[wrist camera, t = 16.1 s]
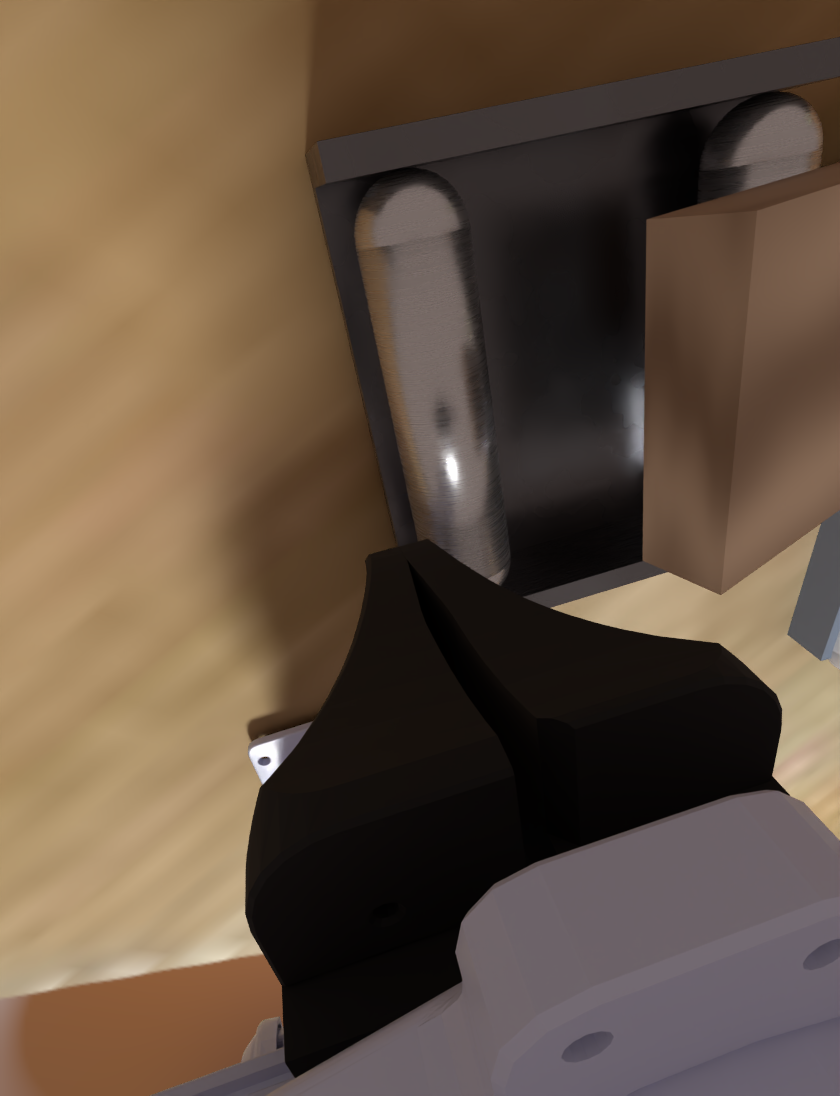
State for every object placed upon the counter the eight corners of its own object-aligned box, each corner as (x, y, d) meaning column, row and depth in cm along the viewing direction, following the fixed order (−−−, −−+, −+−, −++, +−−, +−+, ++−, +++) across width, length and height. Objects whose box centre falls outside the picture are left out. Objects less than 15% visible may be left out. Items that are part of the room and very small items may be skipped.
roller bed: (727, 497, 25) (800, 541, 22) (407, 590, 24) (432, 653, 20) (767, 61, 18) (887, 25, 15) (305, 155, 16) (318, 138, 13)
